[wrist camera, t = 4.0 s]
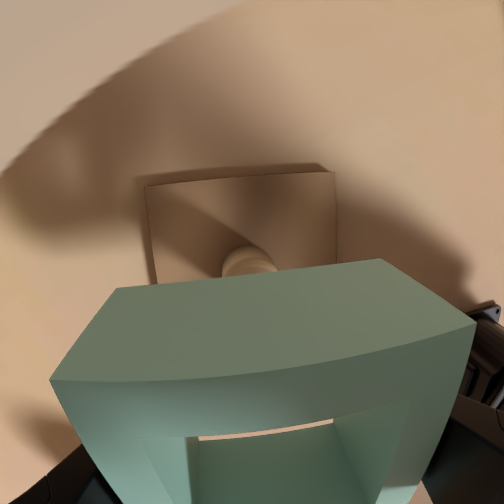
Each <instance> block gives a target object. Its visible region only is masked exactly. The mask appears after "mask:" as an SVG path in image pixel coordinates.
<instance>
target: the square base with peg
mask: <svg viewBox="0 0 504 504" xmlns="http://www.w3.org/2000/svg"><path fill="white" fill-rule="evenodd" d="M144 188H145V197H146V206H147V214H148V222H149V230H150V237H151V244H152V251H153V258H154V264H155V270H156V276H157V282H158V284H164V283H174V282H183V281H193V280H203V279H212V278H221V277H230V276H239V275H248V274H257V273H265V272H274V271H282V270H291V269H299V268H307V267H315V266H323V265H331V264H336V192H335V172H306V173H285V174H269V175H254V176H241V177H228V178H217V179H206V180H197V181H187V182H178V183H169V184H161V185H153V186H147V187H144Z"/></svg>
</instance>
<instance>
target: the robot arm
mask: <svg viewBox="0 0 504 504" xmlns="http://www.w3.org/2000/svg"><path fill="white" fill-rule="evenodd" d="M500 312H501V307H500V306H499V305H497V304H495V305H492V306H489V307H486V308H482V309H479V310H476V311H472V312H469V313H465V314H466V315H467V316H468V317H470V318H471V319H473V320H474V321H475V322H477V325H476V330H475V334H474V338H473V342H472V346H471V350H470V354H469V358H468V361H467V365H466V368H465V372H464V375H463V378H462V381H461V384H460V388H459V391H458V394H457V397H456V399H455V402H454V405H453V408H452V411H451V413H450V416H449V418H448V421H447V424H446V426H445V429H444V431H443V433H442V436H441V438H440V441H439V443H438V445H437V447H436V450H435V452H434V454H433V456H432V458H431V460H430V463H429V465H428V467H427V469H426V471H425V473H424V475H423V477H422V479H421V480H422V482H423V484H424V486H425V488H426V490H427V492H428V494H429V496H430V498H431V500H432V502H433V504H504V327H503V326H501V325H500V324H498V321H499V317H500ZM9 504H124V503H123V502H122V501H121V500H120V498H119V497H118V496H117V494H116V493H115V492H114V490H113V489H112V487H111V486H110V485H109V483H108V482H107V480H106V479H105V478H104V476H103V475H102V473H101V472H100V470H99V469H98V467H97V466H96V464H95V463H94V461H93V460H92V458H91V456H90V455H89V453H88V452H87V450H86V448H85V447H84V445H83V443H82V444H80V445H79V446H78V447H77V448H76V449H75V450H74V451H73V452H71V453H70V454H69V455H68V456H67V457H66V458H65V459H64V460H62V461H61V462H60V463H59V464H58V465H57V466H56V467H54V468H53V469H52V470H51V471H50V472H49V473H48V474H47V476H44V477H43V478H42V479H40V480H39V481H38V482H37V483H36V484H34V485H33V486H32V487H31V488H30V489H28V490H27V491H26V492H24V493H23V494H22V495H20V496H19V497H17V498H16V499H15V500H13V501H12V502H10V503H9Z"/></svg>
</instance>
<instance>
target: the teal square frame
mask: <svg viewBox="0 0 504 504" xmlns="http://www.w3.org/2000/svg"><path fill="white" fill-rule="evenodd" d="M476 325H477V322H475V321H474V320H473V319H471V318H470V317H468V316H467V315H466V314H464V313H463V312H461V311H460V310H458V309H457V308H456V307H454V306H453V305H451V304H450V303H448V302H447V301H445V300H444V299H443V298H441V297H440V296H438V295H437V294H435V293H434V292H432V291H431V290H429V289H428V288H426V287H425V286H423V285H422V284H420V283H419V282H417V281H416V280H414V279H413V278H411V277H410V276H408V275H407V274H405V273H404V272H402V271H400V270H399V269H397V268H396V267H394V266H393V265H391V264H390V263H388V262H386V261H385V260H383V259H382V258H377V259H370V260H362V261H355V262H347V263H339V264H331V265H323V266H315V267H307V268H299V269H291V270H282V271H274V272H265V273H257V274H248V275H239V276H230V277H221V278H212V279H203V280H193V281H183V282H174V283H164V284H154V285H143V286H133V287H122V288H116V289H115V291H114V292H113V293H112V294H111V296H110V297H109V298H108V300H107V301H106V302H105V303H104V305H103V306H102V307H101V309H100V310H99V311H98V312H97V314H96V315H95V316H94V318H93V319H92V320H91V322H90V323H89V324H88V326H87V327H86V328H85V330H84V331H83V332H82V334H81V335H80V336H79V338H78V339H77V341H76V342H75V343H74V345H73V346H72V347H71V349H70V350H69V352H68V353H67V354H66V356H65V357H64V359H63V360H62V361H61V363H60V364H59V366H58V367H57V369H56V370H55V372H54V373H53V374H52V376H51V377H50V379H49V381H50V383H51V385H52V387H53V389H54V391H55V393H56V395H57V397H58V400H59V402H60V403H61V405H62V407H63V409H64V411H65V413H66V415H67V417H68V419H69V421H70V422H71V424H72V426H73V428H74V430H75V431H76V433H77V435H78V437H79V438H80V440H81V442H82V443H83V445H84V447H85V448H86V450H87V452H88V453H89V455H90V456H91V458H92V460H93V461H94V463H95V464H96V466H97V467H98V469H99V470H100V472H101V473H102V475H103V476H104V478H105V479H106V480H107V482H108V483H109V485H110V486H111V487H112V489H113V490H114V492H115V493H116V494H117V496H118V497H119V498H120V500H121V501H122V502H123V503H124V504H408V502H409V501H410V499H411V497H412V495H413V493H414V492H415V490H416V488H417V486H418V484H419V482H420V481H421V479H422V477H423V475H424V473H425V471H426V469H427V467H428V465H429V463H430V460H431V458H432V456H433V454H434V452H435V450H436V447H437V445H438V443H439V441H440V438H441V436H442V433H443V431H444V429H445V426H446V424H447V421H448V418H449V416H450V413H451V411H452V408H453V405H454V402H455V399H456V397H457V394H458V391H459V388H460V384H461V381H462V378H463V375H464V372H465V368H466V365H467V361H468V358H469V354H470V350H471V346H472V342H473V338H474V334H475V330H476ZM332 418H334V420H333V423H330V424H326V425H321V426H316V427H311V428H305V429H300V430H294V431H288V432H282V433H275V434H268V435H260V436H252V437H243V438H233V439H221V440H207V441H199V439H198V436H213V435H226V434H237V433H246V432H255V431H263V430H270V429H277V428H284V427H290V426H296V425H302V424H307V423H313V422H318V421H323V420H327V419H332Z"/></svg>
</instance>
